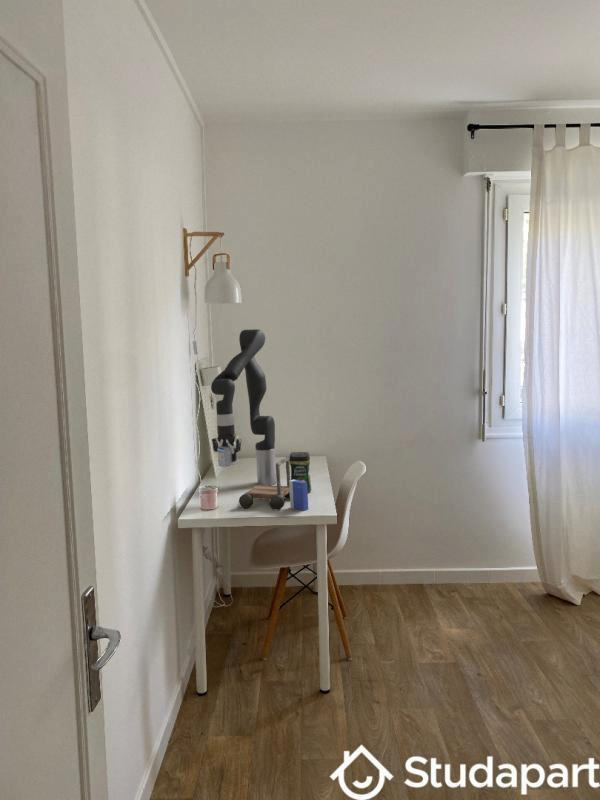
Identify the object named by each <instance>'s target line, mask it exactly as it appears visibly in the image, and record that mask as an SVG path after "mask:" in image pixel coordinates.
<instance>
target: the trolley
mask: <svg viewBox="0 0 600 800" xmlns="http://www.w3.org/2000/svg"><path fill="white" fill-rule="evenodd" d="M289 458H290V456H286V457H284V458H282V459H281V460H279V461H278V462H275V463H276V481H277V483H276V485H263V484H259V485H258V484H257V485H255V486H254V487H252V488H251V489H249V490H247V491H246V492H244V494H241V496H240V497H239V498H238V504H239V505H240V506H241V508H243V509H249V508H251V507H252V506H253V504H254V502H255V500H254V499H262V500H263V499H264V500H265V499H266V500H269V506H270V507H271V508H272V509H273V510H275V511H278V510H281V509H283V508H284V506H285V503H286V501H285V499H287V500H289V499H290V491H289V490H290V488H289V481H290V480H291V465H290V463H289ZM283 464H285V470H286V471H285V472H286V473H285V474H286V485H281V484H282V483H281V471H280V470H281V468H280V466H281V465H283ZM284 498H285V499H284Z"/></svg>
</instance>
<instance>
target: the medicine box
mask: <svg viewBox="0 0 600 800" xmlns="http://www.w3.org/2000/svg"><path fill="white" fill-rule="evenodd" d="M235 448H236V444H235ZM217 451H218V452H217V462H218V467H222V468H226V467H230V466H233V465H237V464H238V463H239V461H238V457H237V460H236V461H235V462H232V454H233V453H232V452H231V450H230V449H229V447H227V446H222V447H218V448H217ZM236 454H237V455H238V452H237V453H236Z"/></svg>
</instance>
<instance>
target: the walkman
mask: <svg viewBox="0 0 600 800" xmlns="http://www.w3.org/2000/svg"><path fill="white" fill-rule="evenodd" d="M289 488H290V490H289V491H290V500H289V503H290V504H289V506H290V509H294V510H299V511H306V510H309V496H308V494H309V493H308V492H307V482H305V481H304V480H302V481H300V480H291V479H290V481H289Z"/></svg>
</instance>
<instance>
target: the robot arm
mask: <svg viewBox="0 0 600 800" xmlns="http://www.w3.org/2000/svg"><path fill="white" fill-rule="evenodd" d="M238 341H239V346H240V352H239V353H238V354H237V355H235V356H234V357H232V358H231V360H230V361H229V362H228V364H227V365H226V367H225V368H224V370H222V371H221V372H220V373H219V374H218V375H217V376H215V377H214V379H213V381H212V382H211V385H210V389H211V392H212V393H213V394H214V395H219V396H222V399H221V400H218V401H217V402H216V405H215V407H216V408H215V409H216V428H217V429H216V430H217V435H218V436H217V437H214V438H212V439H211V442H212V445H213V447H212V448H213V450H214V452H216V453H218V451H217V448H218V447H222V446H227V447H229V449H230V450H231V452H232V453H233V454H232V462H235V461H236V460H237V458H238V452H240V451H241V449H242V448H241V447H242V438H237V437H236V436H235V419H234V412H233V410H234V409H233V403H234V402H233V401H234V396H235V393H236V392H235V391H236V385H235V383H234V382H235V381H237V380H238V379H239V377H240V375H241V373H243V371H244V373H245V381H246V389H247V395H248V405H249V424H250V430H251V432H252V434H253V435H256V436H264V439H262V440H261V441H258V442H256V443H255V447H254V448H255V457H256V458H255V459H256V460H255V462H256V463H255V464H256V476H257V477H256V478H257V485H259V484H263V485H267V486H274V485H275V484H276V485H277V478H276V463H277V462H276V449H275V443H276V424H275V423H276V422H275V420H274V417H273V416H272V415H260V406H261V402H262V400H263V399H264V396H265V394H266V392H267V380H266V374H265V372H264V371H263V369H262V367H261V365H259V363H258V361H257V360H256V358H255V356H256V355H257V353H259V352H260V351H261V349H262V348H263V347H264V345H265V342H266V335H265V332H264V331H263V330H262V329H256V328H255V329H252V328H251V329H243V330H241V331H240V333H239V340H238ZM235 445H236V448H235ZM236 453H237V454H236Z"/></svg>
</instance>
